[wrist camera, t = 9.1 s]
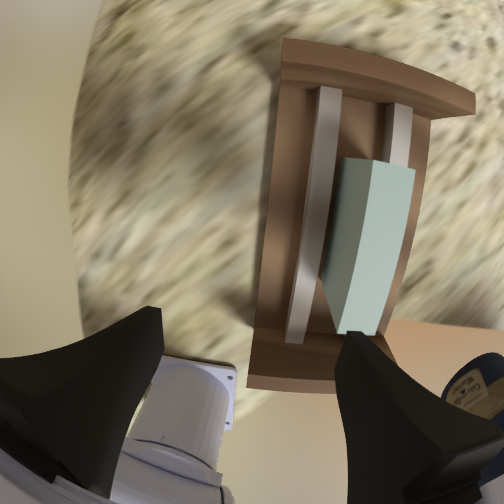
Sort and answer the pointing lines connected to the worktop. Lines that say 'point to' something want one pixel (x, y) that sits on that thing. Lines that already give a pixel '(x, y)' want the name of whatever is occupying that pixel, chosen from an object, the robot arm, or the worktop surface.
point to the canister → (481, 399)
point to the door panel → (365, 241)
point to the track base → (332, 195)
